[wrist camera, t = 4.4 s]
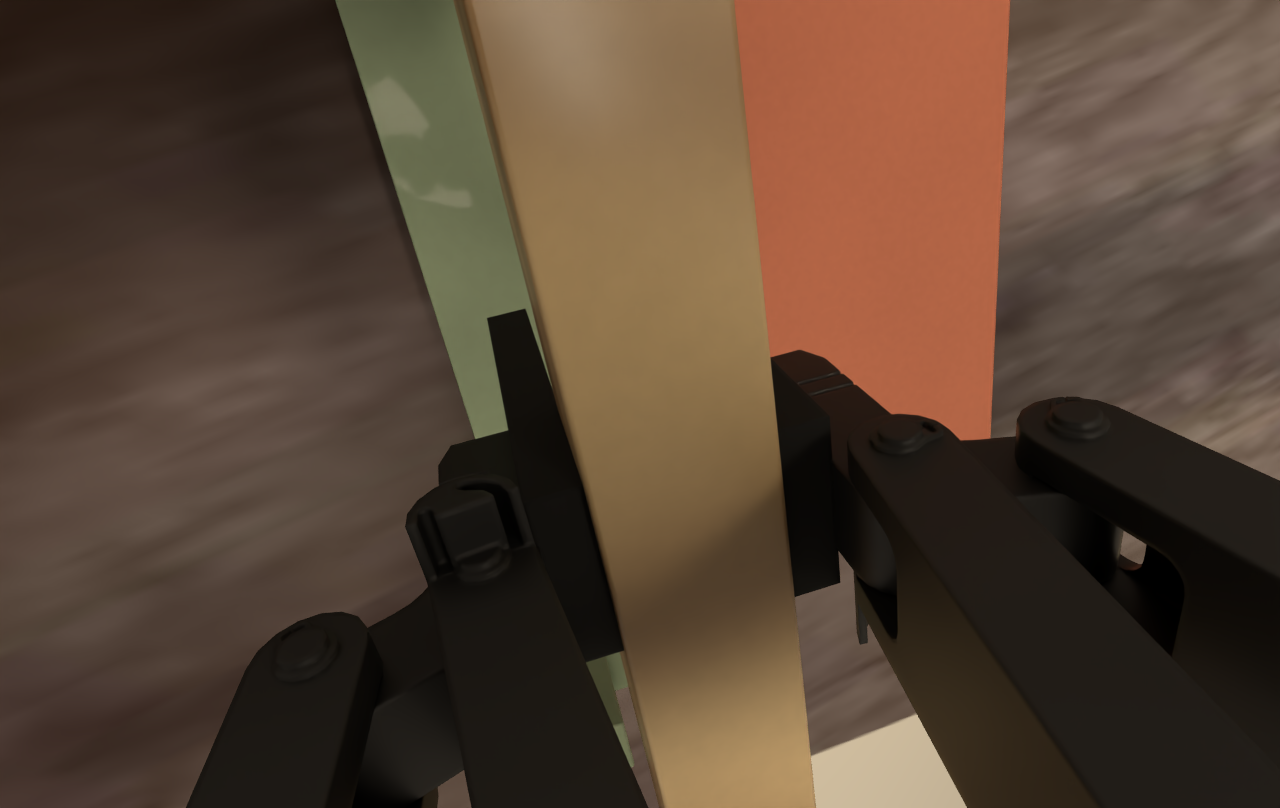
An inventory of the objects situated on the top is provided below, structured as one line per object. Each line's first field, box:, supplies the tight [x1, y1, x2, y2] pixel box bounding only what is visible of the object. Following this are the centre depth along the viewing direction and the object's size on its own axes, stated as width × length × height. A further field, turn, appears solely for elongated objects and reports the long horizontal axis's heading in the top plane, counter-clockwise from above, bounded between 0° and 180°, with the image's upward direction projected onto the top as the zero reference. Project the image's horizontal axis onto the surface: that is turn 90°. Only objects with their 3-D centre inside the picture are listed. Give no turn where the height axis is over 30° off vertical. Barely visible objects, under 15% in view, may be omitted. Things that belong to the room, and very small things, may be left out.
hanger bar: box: [453, 0, 816, 808], centre depth 11 cm, size 22×2×2 cm, turn 10°
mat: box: [734, 0, 1010, 440], centre depth 29 cm, size 24×11×1 cm, turn 10°
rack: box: [335, 0, 634, 767], centre depth 21 cm, size 21×8×14 cm, turn 10°
